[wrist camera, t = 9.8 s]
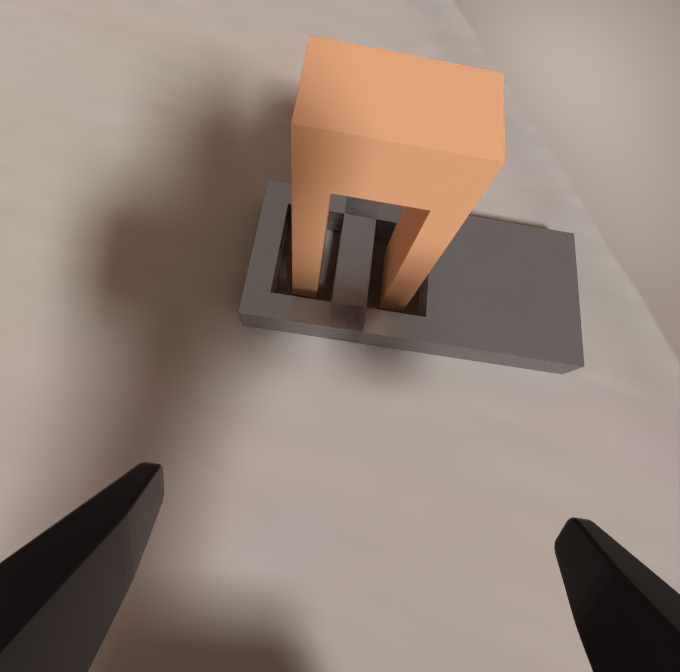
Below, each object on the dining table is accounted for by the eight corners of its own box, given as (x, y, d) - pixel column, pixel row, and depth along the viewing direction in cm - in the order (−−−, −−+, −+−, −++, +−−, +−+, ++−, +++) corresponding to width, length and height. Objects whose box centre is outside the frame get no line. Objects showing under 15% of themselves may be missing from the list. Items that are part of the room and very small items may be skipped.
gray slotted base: (555, 249, 28) (573, 233, 26) (562, 374, 25) (584, 366, 23) (269, 199, 27) (268, 179, 25) (242, 325, 24) (238, 312, 22)
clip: (406, 255, 27) (503, 73, 14) (402, 310, 25) (505, 162, 13) (302, 238, 26) (309, 35, 14) (292, 294, 25) (290, 123, 13)
